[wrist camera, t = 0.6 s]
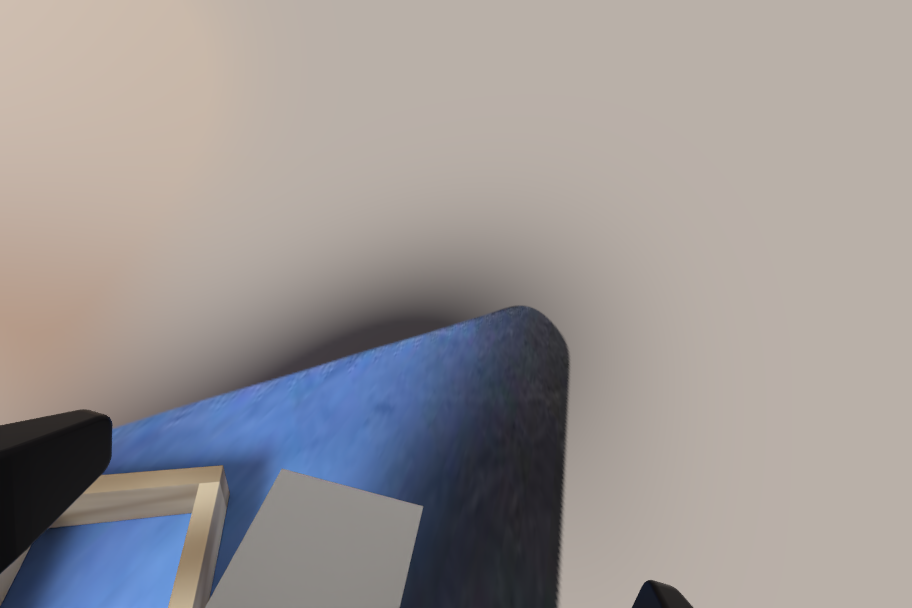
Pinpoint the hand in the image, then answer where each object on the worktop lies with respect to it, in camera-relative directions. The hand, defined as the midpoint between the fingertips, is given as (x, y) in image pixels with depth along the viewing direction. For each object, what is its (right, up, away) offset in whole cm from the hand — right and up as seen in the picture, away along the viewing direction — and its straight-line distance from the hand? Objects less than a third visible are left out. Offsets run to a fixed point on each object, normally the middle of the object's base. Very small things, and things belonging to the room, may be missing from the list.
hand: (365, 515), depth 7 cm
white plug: (-4, -11, +10) cm, 15 cm away
